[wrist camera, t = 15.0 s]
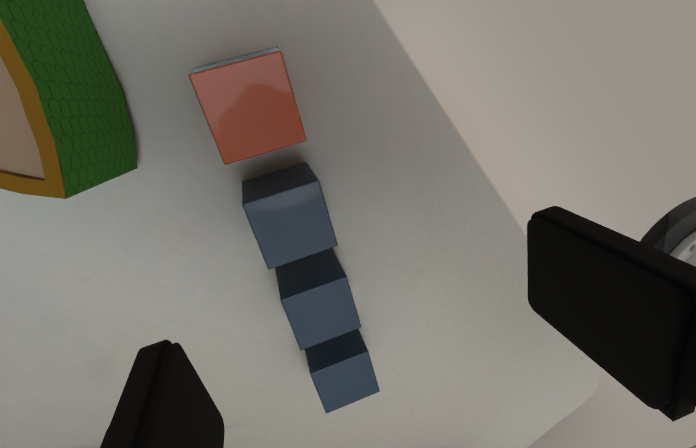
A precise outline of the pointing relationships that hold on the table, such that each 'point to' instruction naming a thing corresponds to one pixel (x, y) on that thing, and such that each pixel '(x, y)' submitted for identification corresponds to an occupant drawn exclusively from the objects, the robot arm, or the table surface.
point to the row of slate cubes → (309, 276)
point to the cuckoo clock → (58, 102)
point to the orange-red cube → (249, 106)
